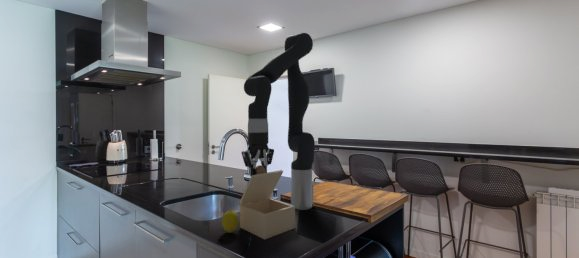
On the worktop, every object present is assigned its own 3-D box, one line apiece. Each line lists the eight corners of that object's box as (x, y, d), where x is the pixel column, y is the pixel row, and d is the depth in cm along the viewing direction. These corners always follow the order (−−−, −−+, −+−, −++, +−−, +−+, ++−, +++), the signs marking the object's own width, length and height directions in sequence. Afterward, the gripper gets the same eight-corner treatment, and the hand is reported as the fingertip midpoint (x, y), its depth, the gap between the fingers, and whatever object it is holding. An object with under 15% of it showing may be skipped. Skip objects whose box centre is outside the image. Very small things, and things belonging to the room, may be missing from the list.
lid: (269, 197, 114) (261, 186, 118) (283, 171, 108) (273, 160, 112) (239, 205, 105) (231, 192, 108) (252, 177, 98) (243, 164, 102)
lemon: (230, 237, 96) (230, 213, 96) (218, 233, 99) (218, 210, 99) (241, 231, 101) (241, 209, 101) (230, 228, 104) (230, 206, 104)
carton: (269, 218, 115) (269, 198, 114) (294, 227, 104) (294, 206, 104) (240, 227, 105) (240, 205, 104) (264, 239, 95) (264, 215, 94)
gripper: (266, 130, 114) (267, 173, 115) (236, 131, 105) (236, 178, 105) (279, 130, 109) (279, 176, 110) (248, 132, 99) (249, 181, 100)
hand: (258, 177), depth 107 cm, fingers closed on lid, 4 cm apart
